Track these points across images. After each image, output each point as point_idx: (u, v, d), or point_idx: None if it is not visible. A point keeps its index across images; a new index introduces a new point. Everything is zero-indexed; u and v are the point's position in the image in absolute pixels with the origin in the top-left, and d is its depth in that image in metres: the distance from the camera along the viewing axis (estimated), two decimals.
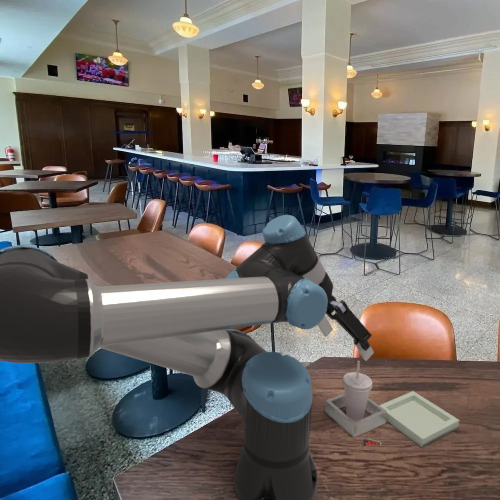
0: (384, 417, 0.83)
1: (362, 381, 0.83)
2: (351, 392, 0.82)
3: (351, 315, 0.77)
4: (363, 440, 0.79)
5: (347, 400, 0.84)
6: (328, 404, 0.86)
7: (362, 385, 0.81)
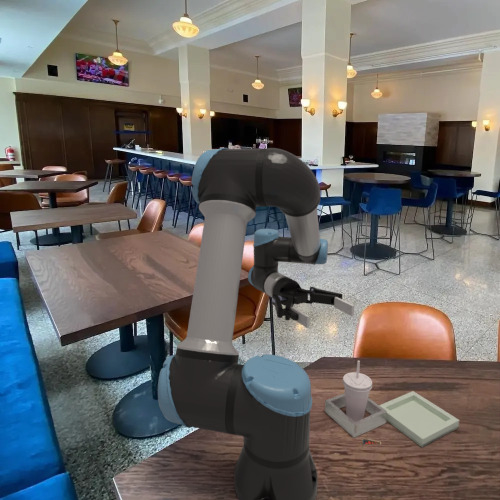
0: (384, 417, 0.83)
1: (362, 381, 0.83)
2: (351, 392, 0.82)
3: None
4: (363, 440, 0.79)
5: (347, 400, 0.84)
6: (328, 404, 0.86)
7: (362, 385, 0.81)
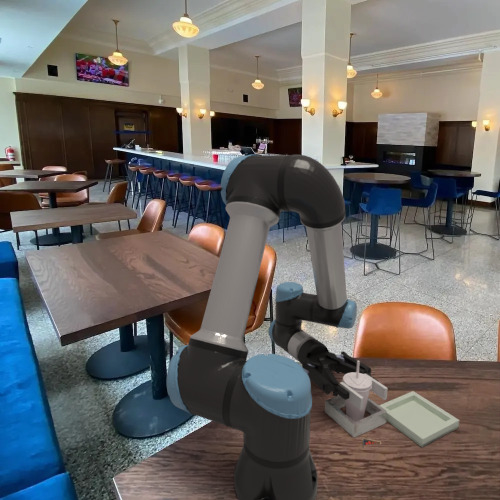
0: (384, 417, 0.83)
1: (362, 381, 0.83)
2: None
3: None
4: (363, 440, 0.79)
5: (347, 400, 0.84)
6: (328, 404, 0.86)
7: (362, 385, 0.81)
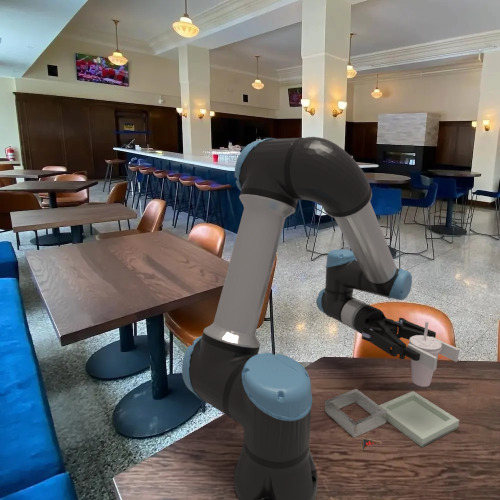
0: (384, 417, 0.83)
1: (431, 343, 0.79)
2: None
3: None
4: (363, 440, 0.79)
5: (414, 362, 0.80)
6: (328, 404, 0.86)
7: (432, 347, 0.78)
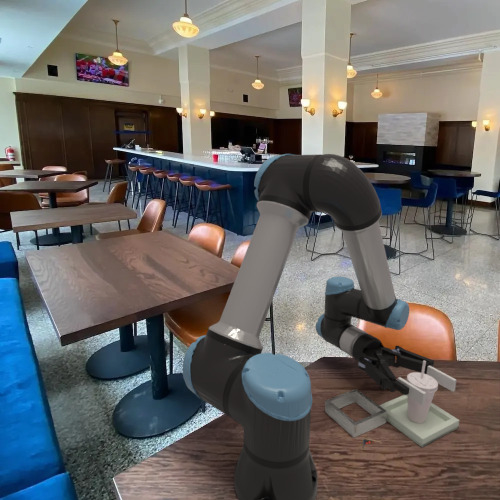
0: (384, 417, 0.83)
1: (427, 381, 0.81)
2: None
3: None
4: (363, 440, 0.79)
5: (411, 400, 0.82)
6: (328, 404, 0.86)
7: (429, 386, 0.80)
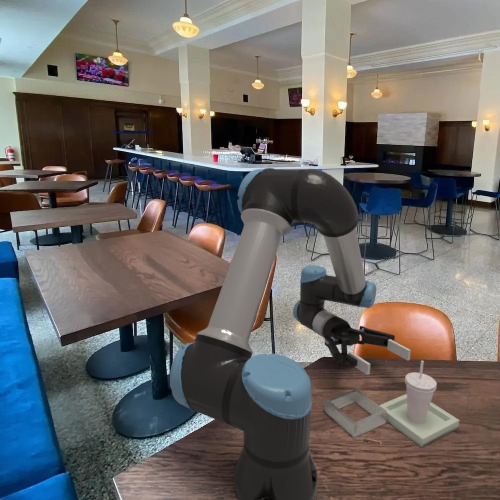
0: (384, 417, 0.83)
1: (426, 381, 0.81)
2: (415, 393, 0.81)
3: None
4: (363, 440, 0.79)
5: (410, 400, 0.82)
6: (328, 404, 0.86)
7: (427, 386, 0.80)
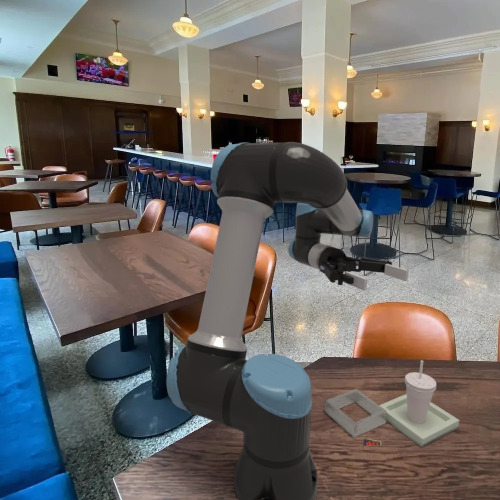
0: (384, 417, 0.83)
1: (426, 381, 0.81)
2: (415, 392, 0.81)
3: None
4: (363, 440, 0.79)
5: (409, 400, 0.82)
6: (328, 404, 0.86)
7: (427, 386, 0.80)
